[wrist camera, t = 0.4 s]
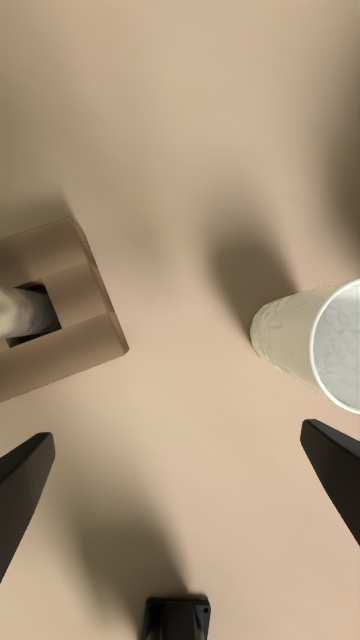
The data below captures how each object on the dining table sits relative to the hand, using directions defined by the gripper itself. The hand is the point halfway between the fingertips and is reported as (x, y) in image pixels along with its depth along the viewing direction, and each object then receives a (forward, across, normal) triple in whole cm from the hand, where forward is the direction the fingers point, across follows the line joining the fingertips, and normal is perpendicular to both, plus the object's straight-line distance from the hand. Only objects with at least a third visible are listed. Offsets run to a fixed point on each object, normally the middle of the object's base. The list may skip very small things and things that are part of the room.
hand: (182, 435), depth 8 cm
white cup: (+14, -11, +1) cm, 18 cm away
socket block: (+14, +12, -2) cm, 19 cm away
